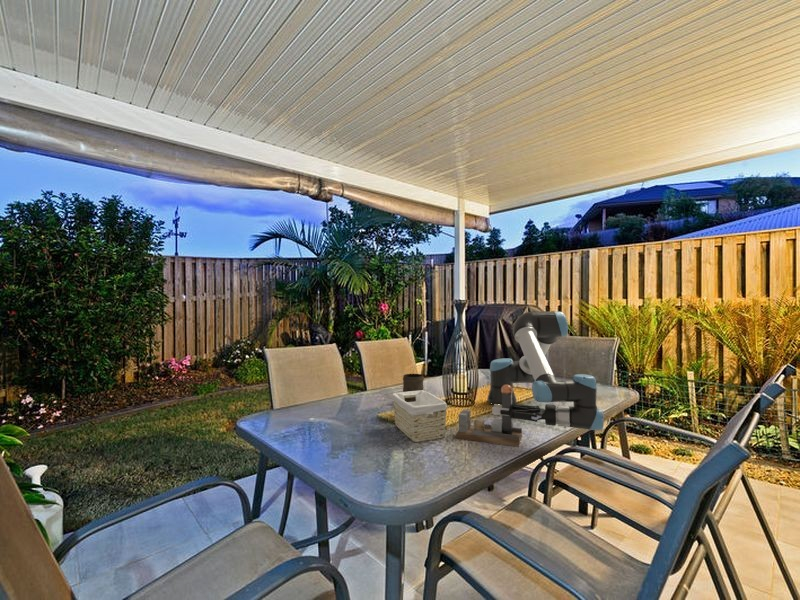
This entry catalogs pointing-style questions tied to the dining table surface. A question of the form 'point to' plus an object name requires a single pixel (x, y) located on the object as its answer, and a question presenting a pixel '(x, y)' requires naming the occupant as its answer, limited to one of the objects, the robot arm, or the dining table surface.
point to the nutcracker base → (485, 432)
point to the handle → (506, 422)
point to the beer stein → (412, 384)
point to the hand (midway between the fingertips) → (493, 409)
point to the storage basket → (420, 415)
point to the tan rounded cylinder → (479, 425)
